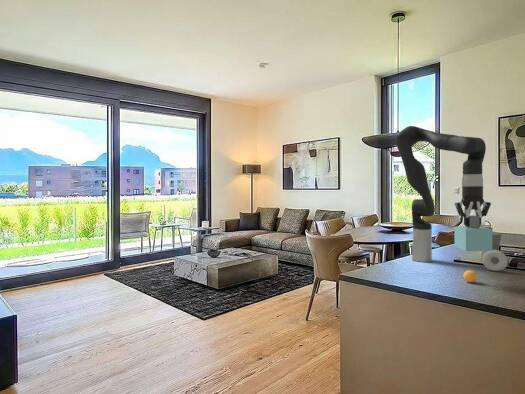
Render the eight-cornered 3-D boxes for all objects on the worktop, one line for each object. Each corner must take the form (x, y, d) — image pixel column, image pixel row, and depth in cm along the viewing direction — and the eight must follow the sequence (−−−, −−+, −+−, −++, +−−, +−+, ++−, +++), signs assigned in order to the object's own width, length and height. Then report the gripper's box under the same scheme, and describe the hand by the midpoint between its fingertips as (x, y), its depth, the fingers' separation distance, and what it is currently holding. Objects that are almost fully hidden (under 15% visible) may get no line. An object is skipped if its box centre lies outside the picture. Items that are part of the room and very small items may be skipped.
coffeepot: (491, 259, 189) (491, 226, 188) (508, 262, 180) (508, 227, 179) (470, 261, 183) (470, 227, 183) (487, 265, 175) (487, 229, 174)
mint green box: (465, 250, 141) (465, 217, 141) (454, 246, 152) (454, 214, 151) (492, 250, 140) (492, 216, 140) (479, 246, 151) (479, 214, 150)
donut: (507, 271, 162) (507, 250, 161) (507, 273, 159) (507, 251, 159) (482, 268, 168) (482, 248, 168) (481, 270, 166) (481, 249, 165)
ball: (480, 281, 145) (469, 286, 145) (473, 273, 149) (462, 278, 150) (478, 273, 143) (467, 278, 143) (470, 266, 147) (459, 271, 148)
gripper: (458, 185, 142) (458, 227, 143) (495, 185, 141) (495, 227, 141) (450, 185, 150) (450, 225, 150) (485, 185, 148) (485, 225, 149)
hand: (472, 226), depth 146 cm, fingers closed on mint green box, 3 cm apart
